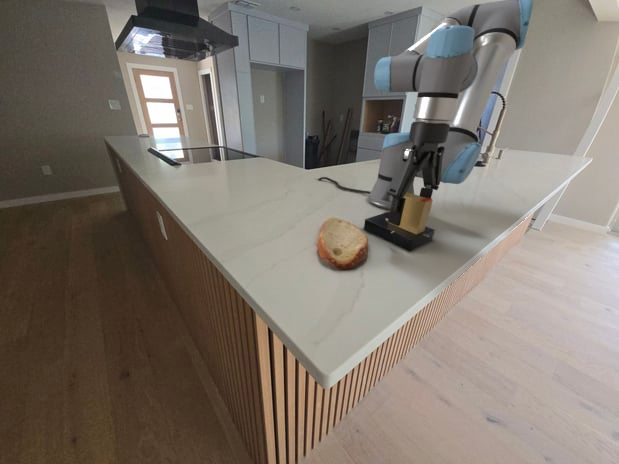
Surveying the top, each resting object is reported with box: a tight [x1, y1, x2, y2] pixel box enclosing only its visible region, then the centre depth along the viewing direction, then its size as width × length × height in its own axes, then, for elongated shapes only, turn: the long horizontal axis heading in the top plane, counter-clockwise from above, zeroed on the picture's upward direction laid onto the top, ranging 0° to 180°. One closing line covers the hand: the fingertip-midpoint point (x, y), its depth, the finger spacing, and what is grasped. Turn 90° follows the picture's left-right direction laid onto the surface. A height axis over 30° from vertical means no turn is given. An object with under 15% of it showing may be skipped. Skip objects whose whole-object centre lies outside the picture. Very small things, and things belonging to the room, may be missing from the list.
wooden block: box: [390, 192, 434, 235], centre depth 62 cm, size 8×4×8 cm, turn 39°
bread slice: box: [316, 217, 369, 270], centre depth 60 cm, size 18×18×4 cm
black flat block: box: [363, 211, 436, 252], centre depth 65 cm, size 15×12×3 cm
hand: (408, 218), depth 62 cm, fingers open, 11 cm apart
